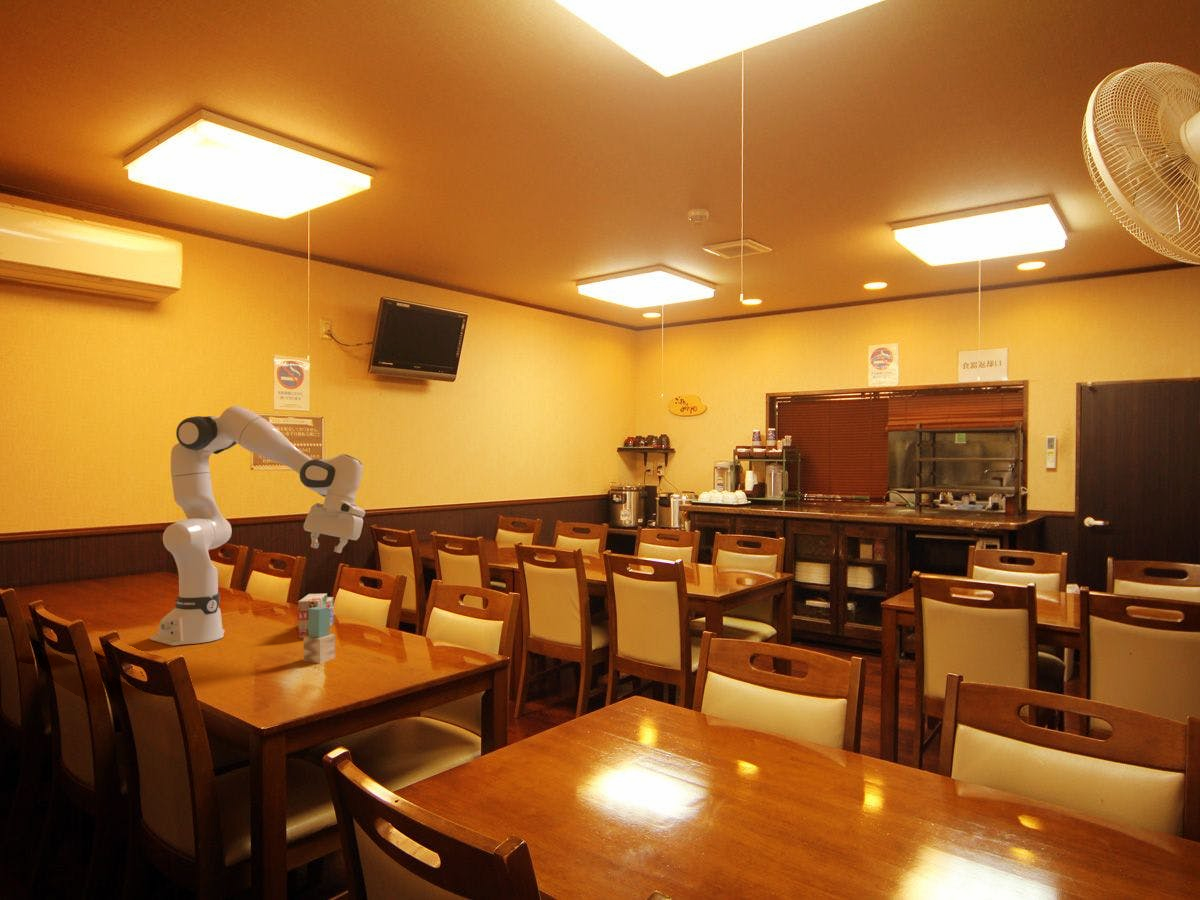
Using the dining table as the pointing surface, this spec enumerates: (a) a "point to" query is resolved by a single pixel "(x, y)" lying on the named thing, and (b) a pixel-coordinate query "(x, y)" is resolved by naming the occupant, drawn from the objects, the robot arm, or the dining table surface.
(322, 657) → the tower base
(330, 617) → the multicoloured boxy piece
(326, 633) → the pillar
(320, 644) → the tower top
